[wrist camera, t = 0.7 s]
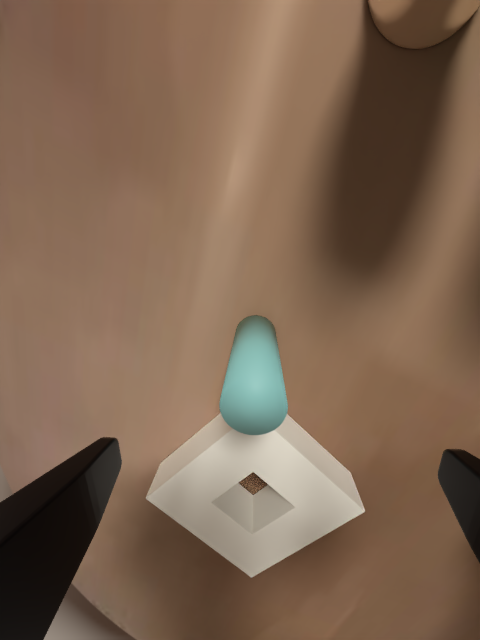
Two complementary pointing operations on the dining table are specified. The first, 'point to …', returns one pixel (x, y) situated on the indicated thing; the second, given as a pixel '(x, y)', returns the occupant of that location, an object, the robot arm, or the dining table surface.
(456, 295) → the dining table surface
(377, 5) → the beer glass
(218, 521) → the socket block
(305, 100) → the dining table surface
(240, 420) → the peg
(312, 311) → the dining table surface
